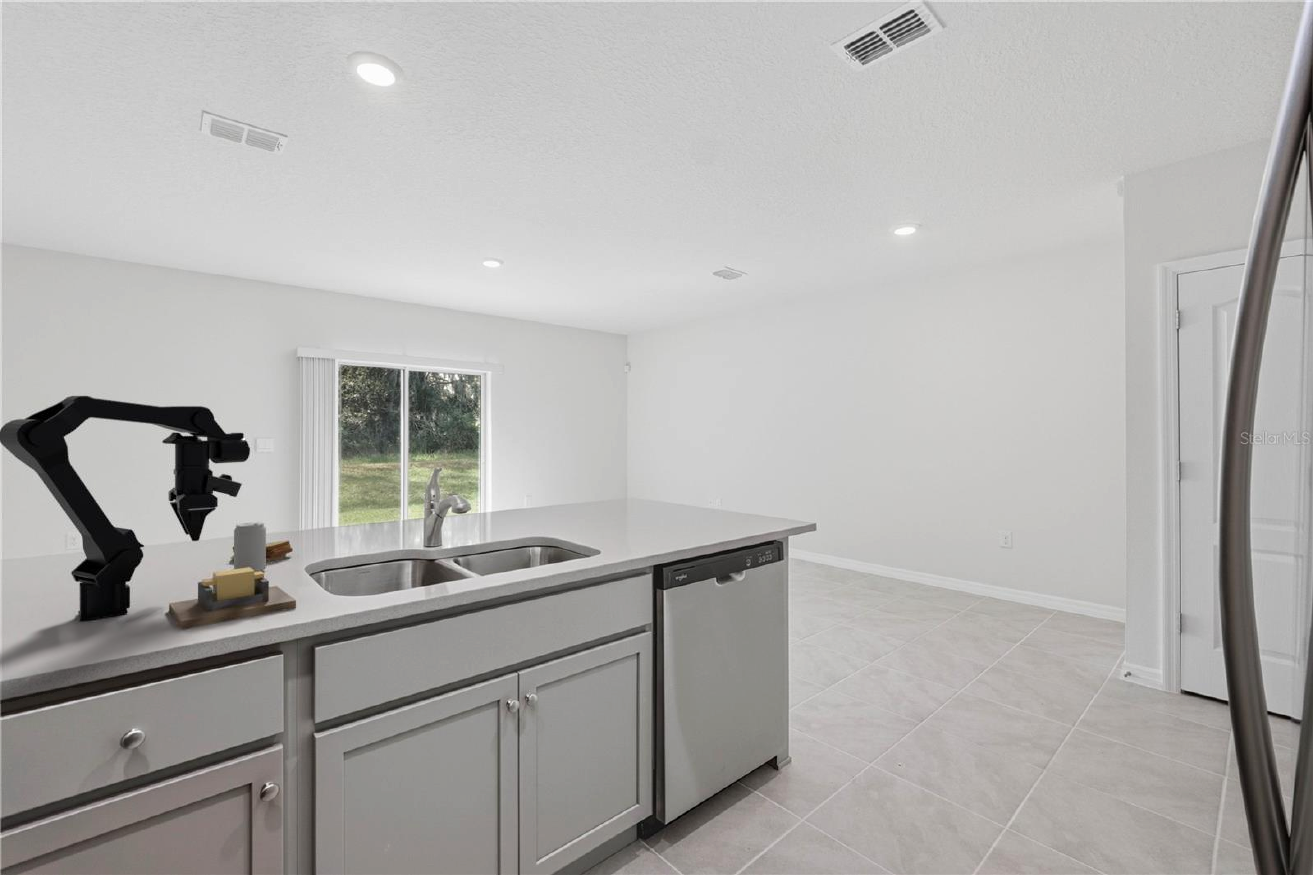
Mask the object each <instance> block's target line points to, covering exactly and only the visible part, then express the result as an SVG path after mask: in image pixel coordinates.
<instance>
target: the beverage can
mask: <svg viewBox="0 0 1313 875" xmlns="http://www.w3.org/2000/svg"><path fill="white" fill-rule="evenodd" d="M266 532H267V528H266V526H265V523H264V522H262V521H261V522H260V521H259V522H258V521H256V522H242V523H237V524H235V529H233V547H234V552H233V556H234V560H233V569H240V568H247V567H250V568H251V569H253V570H254V572H260V571H261V572H263V571H264V570H266V568H267V562H266V543H267V542H266V541H267V533H266Z"/></svg>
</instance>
